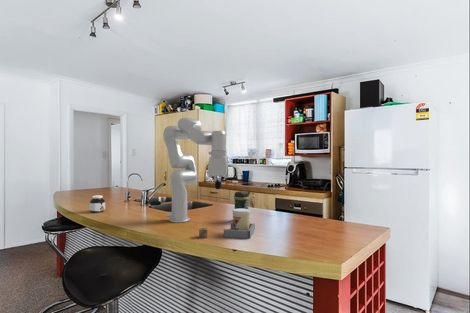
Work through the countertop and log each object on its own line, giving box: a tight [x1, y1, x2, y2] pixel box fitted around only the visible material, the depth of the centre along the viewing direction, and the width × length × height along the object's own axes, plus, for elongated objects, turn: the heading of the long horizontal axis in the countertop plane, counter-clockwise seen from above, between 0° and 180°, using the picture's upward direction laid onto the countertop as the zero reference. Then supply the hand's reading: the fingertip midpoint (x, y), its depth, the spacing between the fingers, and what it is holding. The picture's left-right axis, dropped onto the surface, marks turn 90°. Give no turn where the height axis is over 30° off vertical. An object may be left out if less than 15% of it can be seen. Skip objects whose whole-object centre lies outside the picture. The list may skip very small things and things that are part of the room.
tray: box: [223, 221, 256, 239], centre depth 142 cm, size 13×16×4 cm
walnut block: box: [198, 227, 208, 239], centre depth 136 cm, size 4×4×4 cm
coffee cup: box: [232, 208, 251, 231], centre depth 143 cm, size 9×9×12 cm
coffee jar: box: [233, 190, 250, 209], centre depth 172 cm, size 10×8×19 cm
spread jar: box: [88, 194, 106, 214], centre depth 202 cm, size 12×11×12 cm
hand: (218, 188), depth 145 cm, fingers closed
